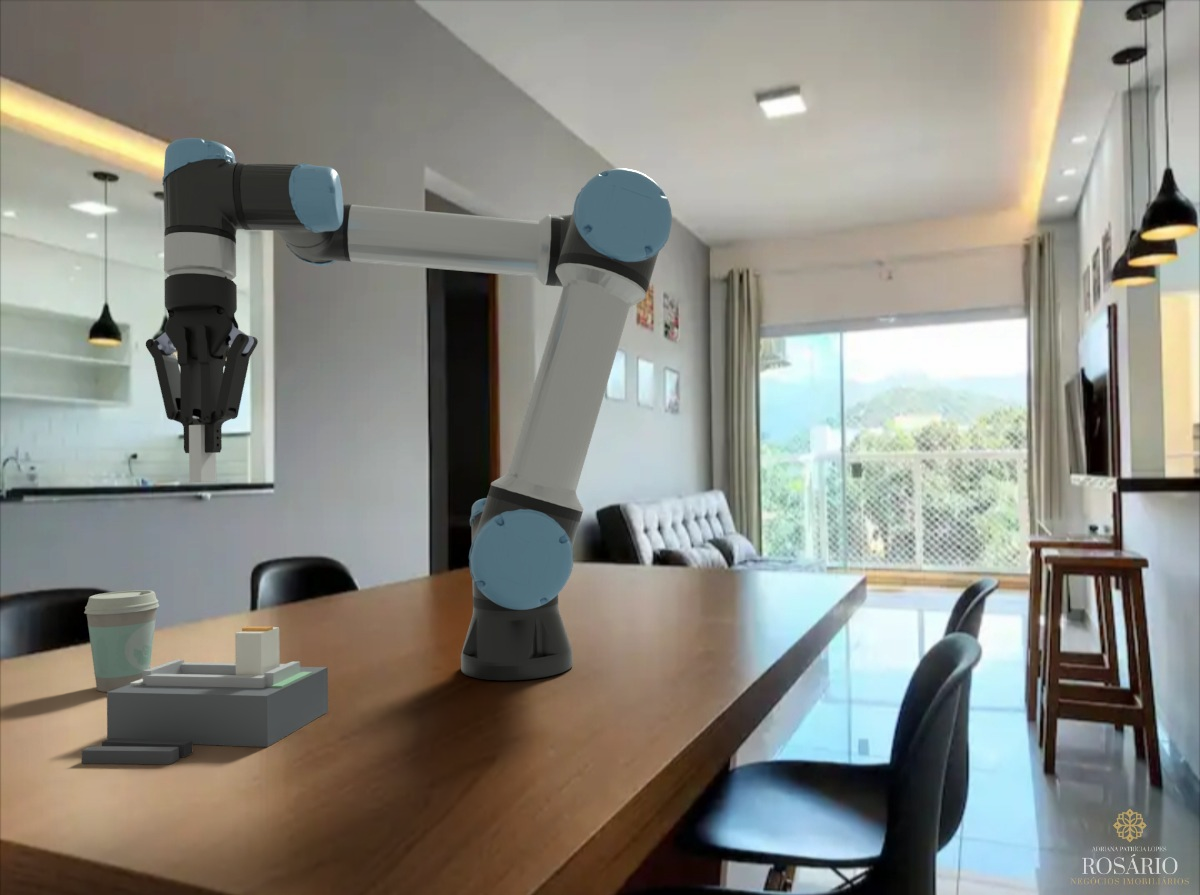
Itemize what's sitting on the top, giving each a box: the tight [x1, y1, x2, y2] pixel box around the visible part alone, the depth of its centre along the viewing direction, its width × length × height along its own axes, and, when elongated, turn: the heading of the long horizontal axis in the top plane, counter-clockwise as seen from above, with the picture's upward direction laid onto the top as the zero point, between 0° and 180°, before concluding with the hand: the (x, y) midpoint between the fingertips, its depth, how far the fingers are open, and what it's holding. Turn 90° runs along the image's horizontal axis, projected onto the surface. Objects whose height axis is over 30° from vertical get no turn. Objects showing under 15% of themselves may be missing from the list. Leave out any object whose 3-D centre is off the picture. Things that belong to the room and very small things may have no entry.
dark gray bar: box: [81, 745, 180, 765], centre depth 78 cm, size 9×1×1 cm, turn 84°
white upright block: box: [234, 625, 281, 676], centre depth 88 cm, size 3×3×5 cm
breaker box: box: [106, 659, 329, 748], centre depth 88 cm, size 18×12×6 cm, turn 80°
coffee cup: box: [83, 589, 160, 693], centre depth 107 cm, size 8×8×12 cm
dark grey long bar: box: [101, 738, 194, 758], centre depth 80 cm, size 9×1×1 cm, turn 80°
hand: (203, 481), depth 94 cm, fingers closed
